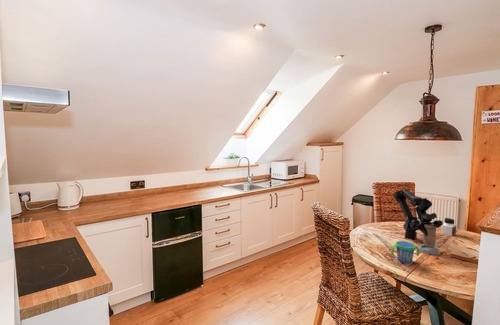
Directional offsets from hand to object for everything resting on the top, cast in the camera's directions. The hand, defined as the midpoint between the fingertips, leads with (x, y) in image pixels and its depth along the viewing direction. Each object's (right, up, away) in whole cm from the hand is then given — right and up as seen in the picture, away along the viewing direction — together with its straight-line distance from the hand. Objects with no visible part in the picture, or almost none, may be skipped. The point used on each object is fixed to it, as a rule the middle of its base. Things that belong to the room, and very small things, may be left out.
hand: (431, 236), depth 177 cm
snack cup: (-23, -12, -11) cm, 28 cm away
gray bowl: (0, -10, +2) cm, 10 cm away
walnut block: (0, -6, +2) cm, 7 cm away
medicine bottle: (+34, -7, +32) cm, 47 cm away
